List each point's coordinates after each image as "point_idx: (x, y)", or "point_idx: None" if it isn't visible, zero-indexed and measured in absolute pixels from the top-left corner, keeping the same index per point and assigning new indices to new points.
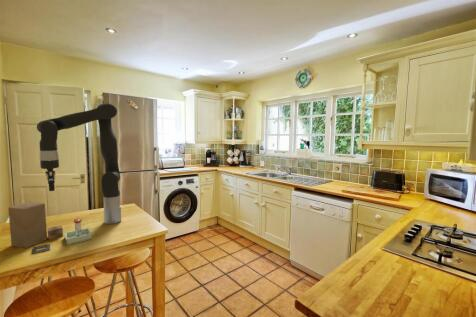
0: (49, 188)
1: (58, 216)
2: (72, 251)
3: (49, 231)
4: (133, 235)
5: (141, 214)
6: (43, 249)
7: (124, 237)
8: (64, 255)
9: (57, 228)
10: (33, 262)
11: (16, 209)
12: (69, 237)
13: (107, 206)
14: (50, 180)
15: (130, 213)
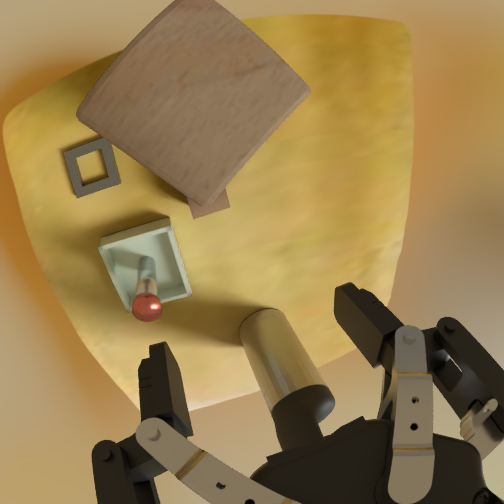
0: (151, 370)
1: (403, 158)
2: (54, 265)
3: None
4: (130, 380)
5: None
6: (74, 179)
7: (121, 366)
8: (35, 250)
9: (193, 201)
10: (13, 179)
11: (126, 47)
12: (156, 235)
13: (264, 371)
14: (386, 353)
15: None
